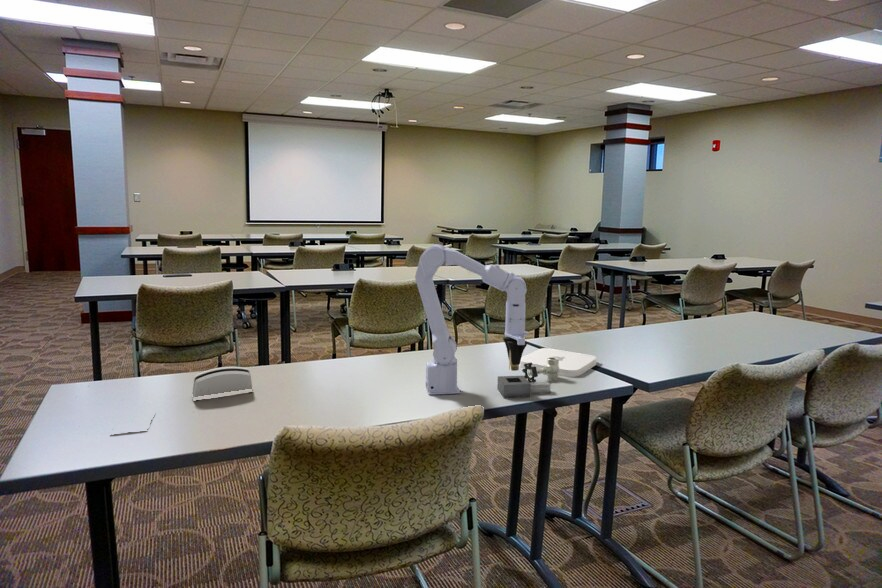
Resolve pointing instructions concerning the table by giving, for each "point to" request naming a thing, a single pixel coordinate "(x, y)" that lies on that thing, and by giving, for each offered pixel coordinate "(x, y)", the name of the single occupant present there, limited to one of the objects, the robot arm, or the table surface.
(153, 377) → the table surface
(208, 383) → the grey rounded block
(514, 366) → the brass pin
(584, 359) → the computer
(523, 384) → the grey socket block
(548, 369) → the valve
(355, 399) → the table surface
